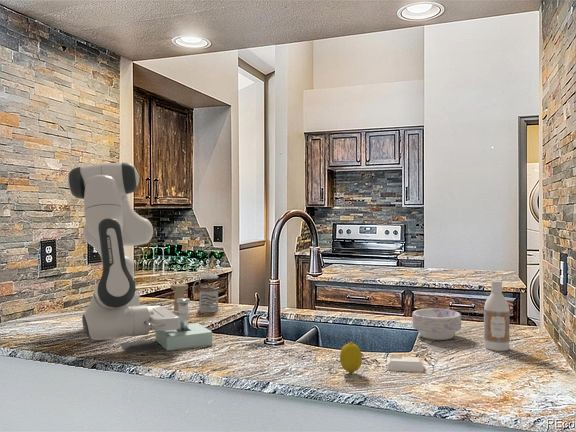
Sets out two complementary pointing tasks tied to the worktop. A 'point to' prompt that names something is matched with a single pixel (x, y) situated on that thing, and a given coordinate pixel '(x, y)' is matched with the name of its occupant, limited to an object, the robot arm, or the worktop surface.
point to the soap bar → (405, 364)
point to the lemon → (350, 357)
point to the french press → (208, 293)
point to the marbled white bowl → (436, 323)
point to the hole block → (184, 337)
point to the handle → (178, 293)
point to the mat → (139, 346)
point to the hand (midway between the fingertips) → (186, 315)
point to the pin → (183, 310)
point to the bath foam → (496, 319)
